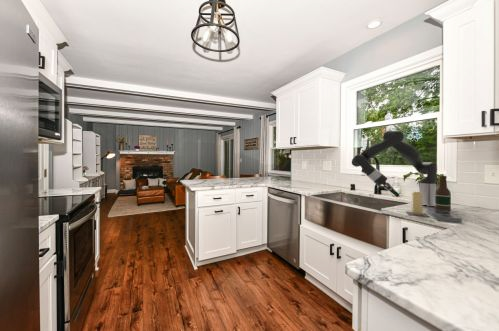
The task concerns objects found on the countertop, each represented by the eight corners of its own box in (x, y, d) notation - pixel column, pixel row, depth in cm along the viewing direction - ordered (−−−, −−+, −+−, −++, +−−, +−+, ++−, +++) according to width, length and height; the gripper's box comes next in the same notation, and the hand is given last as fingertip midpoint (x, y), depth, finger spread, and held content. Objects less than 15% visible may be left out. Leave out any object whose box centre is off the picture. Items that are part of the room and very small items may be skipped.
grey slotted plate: (426, 211, 143) (426, 208, 143) (446, 213, 138) (446, 209, 138) (437, 220, 120) (437, 216, 120) (461, 223, 115) (461, 218, 115)
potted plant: (444, 210, 147) (444, 175, 147) (453, 212, 140) (454, 176, 140) (432, 210, 148) (432, 175, 148) (441, 212, 140) (441, 176, 140)
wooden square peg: (411, 212, 138) (411, 191, 138) (420, 213, 136) (420, 192, 136) (413, 214, 134) (413, 192, 134) (422, 214, 132) (422, 192, 132)
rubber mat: (406, 212, 141) (406, 211, 141) (425, 213, 137) (425, 213, 137) (408, 215, 133) (408, 214, 133) (429, 217, 128) (429, 216, 128)
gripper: (382, 174, 138) (404, 192, 133) (381, 173, 151) (401, 190, 145) (373, 182, 141) (394, 200, 135) (372, 180, 153) (391, 197, 148)
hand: (397, 195), depth 140 cm, fingers open, 8 cm apart
